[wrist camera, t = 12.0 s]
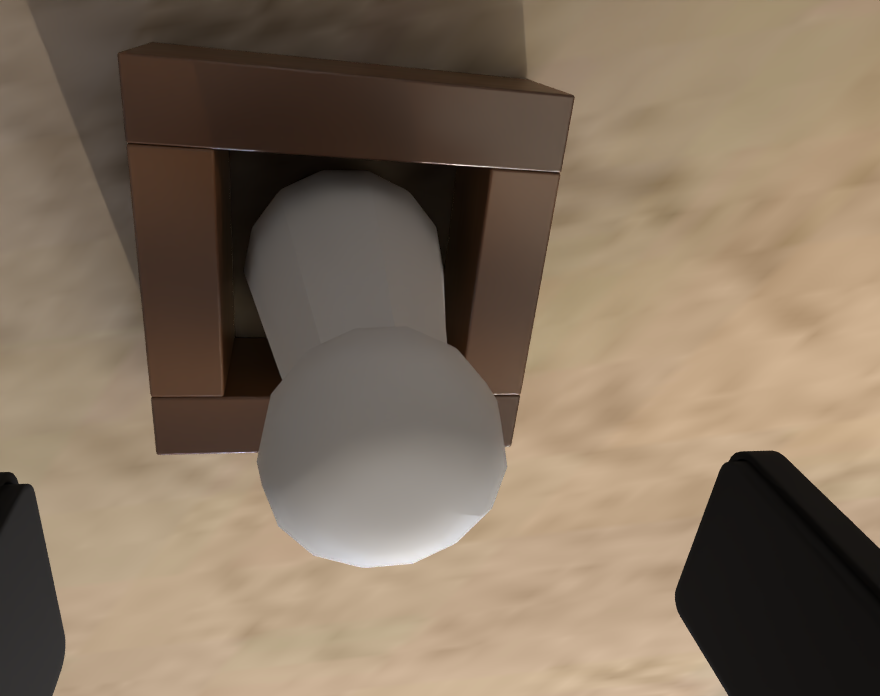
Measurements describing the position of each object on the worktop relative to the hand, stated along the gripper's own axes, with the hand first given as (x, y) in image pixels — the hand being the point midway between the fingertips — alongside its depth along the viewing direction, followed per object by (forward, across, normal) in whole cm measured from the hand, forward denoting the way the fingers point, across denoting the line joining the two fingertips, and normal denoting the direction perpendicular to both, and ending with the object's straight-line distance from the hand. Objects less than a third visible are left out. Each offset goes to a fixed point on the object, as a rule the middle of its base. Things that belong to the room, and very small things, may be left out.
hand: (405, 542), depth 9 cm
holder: (+14, 0, +1) cm, 15 cm away
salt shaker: (+15, 0, +1) cm, 15 cm away
